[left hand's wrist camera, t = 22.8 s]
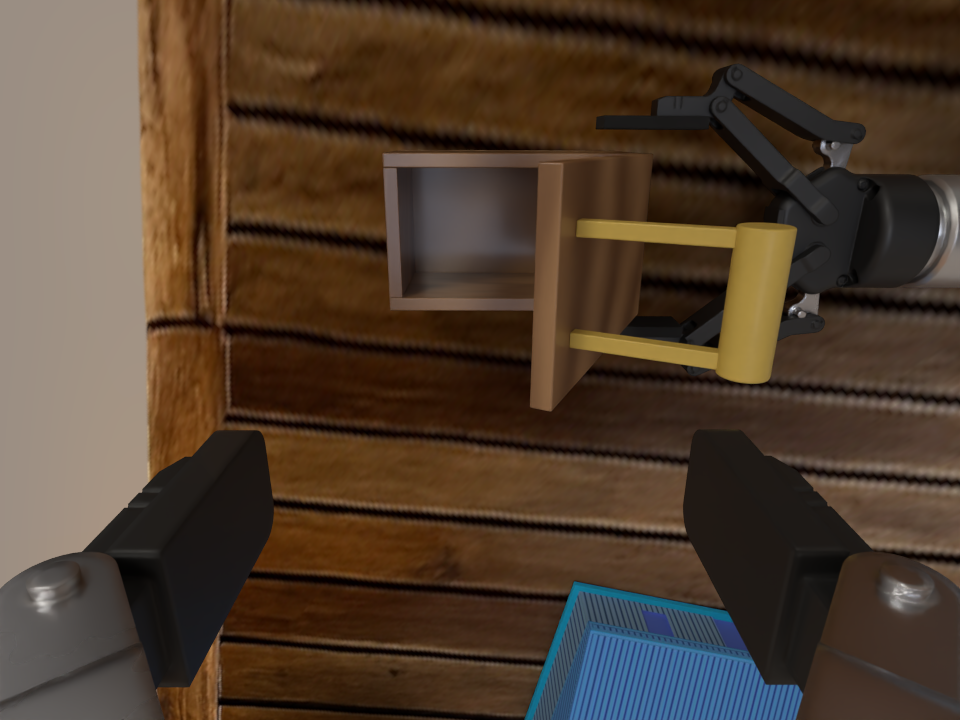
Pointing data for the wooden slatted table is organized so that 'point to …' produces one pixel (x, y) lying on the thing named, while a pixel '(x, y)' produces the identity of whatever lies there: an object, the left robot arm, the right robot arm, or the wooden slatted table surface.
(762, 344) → the lid
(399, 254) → the chest
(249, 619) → the wooden slatted table surface
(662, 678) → the model building
